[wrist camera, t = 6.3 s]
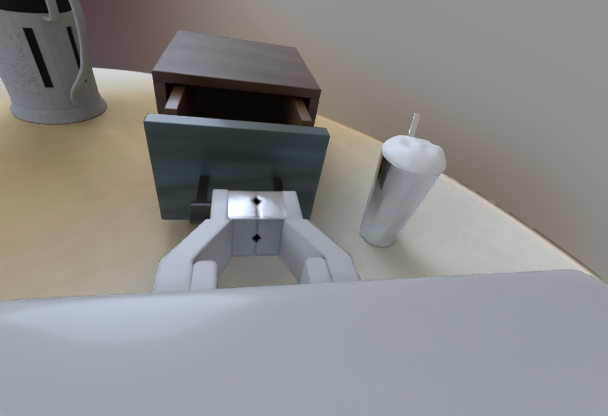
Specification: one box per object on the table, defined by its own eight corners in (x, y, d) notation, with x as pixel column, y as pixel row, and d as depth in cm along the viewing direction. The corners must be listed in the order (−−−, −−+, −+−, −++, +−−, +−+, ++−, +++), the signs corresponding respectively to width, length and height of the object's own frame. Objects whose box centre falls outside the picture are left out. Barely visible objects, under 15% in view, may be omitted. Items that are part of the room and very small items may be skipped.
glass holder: (81, 87, 38) (33, -69, 29) (151, 128, 33) (122, -43, 24) (-6, 101, 32) (-104, -92, 22) (66, 154, 27) (-20, -63, 18)
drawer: (320, 259, 21) (348, 170, 17) (149, 265, 19) (122, 160, 14) (288, 145, 34) (299, 75, 29) (183, 139, 31) (174, 59, 26)
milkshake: (398, 217, 28) (447, 120, 22) (404, 259, 24) (468, 153, 18) (352, 207, 28) (388, 106, 22) (351, 246, 24) (395, 137, 18)
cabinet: (302, 185, 30) (321, 89, 24) (168, 180, 27) (151, 69, 21) (285, 125, 40) (295, 47, 34) (186, 117, 37) (178, 29, 31)
